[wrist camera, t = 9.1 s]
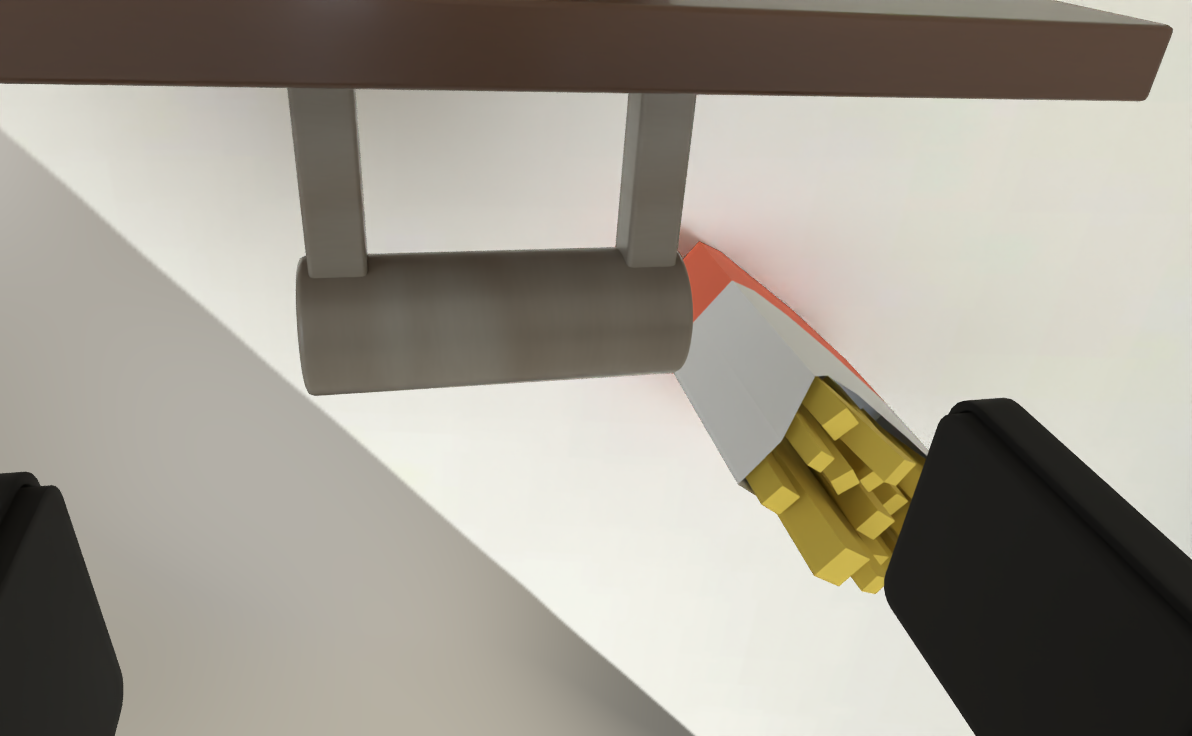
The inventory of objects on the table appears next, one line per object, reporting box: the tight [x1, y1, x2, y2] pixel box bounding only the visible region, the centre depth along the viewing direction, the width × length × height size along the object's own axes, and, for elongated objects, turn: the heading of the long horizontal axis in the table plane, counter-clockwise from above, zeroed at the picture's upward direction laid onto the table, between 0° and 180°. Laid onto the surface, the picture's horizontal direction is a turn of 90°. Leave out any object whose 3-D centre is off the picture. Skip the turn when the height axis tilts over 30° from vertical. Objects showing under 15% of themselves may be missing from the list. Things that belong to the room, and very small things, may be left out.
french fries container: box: [674, 241, 929, 594], centre depth 35 cm, size 5×11×18 cm, turn 49°
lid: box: [0, 0, 1173, 396], centre depth 16 cm, size 17×14×5 cm
